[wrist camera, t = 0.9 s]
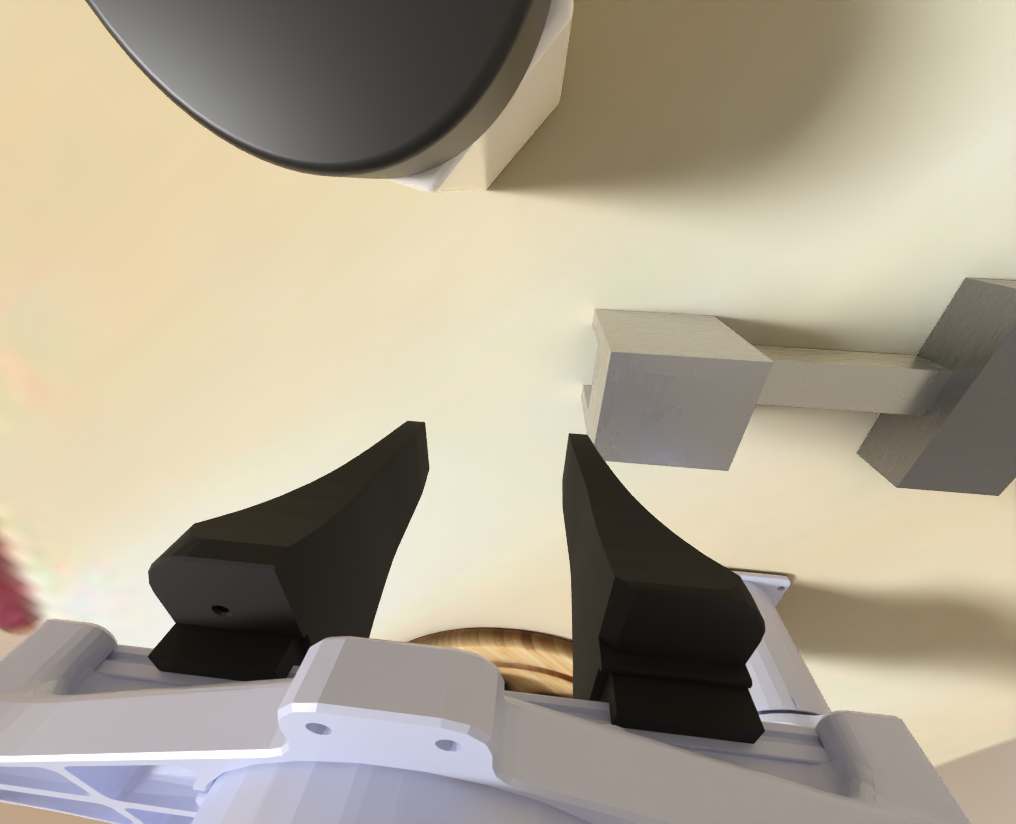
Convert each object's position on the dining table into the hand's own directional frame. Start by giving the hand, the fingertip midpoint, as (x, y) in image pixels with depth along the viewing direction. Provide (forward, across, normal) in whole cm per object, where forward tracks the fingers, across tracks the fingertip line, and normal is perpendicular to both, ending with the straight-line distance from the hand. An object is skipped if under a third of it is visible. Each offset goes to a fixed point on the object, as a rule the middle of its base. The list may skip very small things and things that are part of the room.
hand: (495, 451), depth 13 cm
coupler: (+9, -19, 0) cm, 21 cm away
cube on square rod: (+9, -7, 0) cm, 12 cm away
